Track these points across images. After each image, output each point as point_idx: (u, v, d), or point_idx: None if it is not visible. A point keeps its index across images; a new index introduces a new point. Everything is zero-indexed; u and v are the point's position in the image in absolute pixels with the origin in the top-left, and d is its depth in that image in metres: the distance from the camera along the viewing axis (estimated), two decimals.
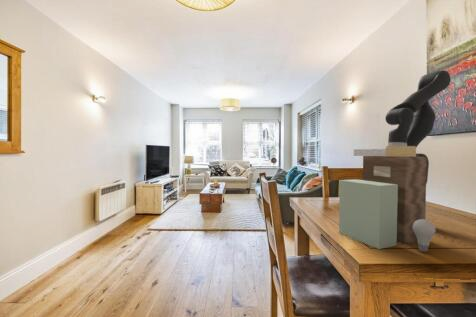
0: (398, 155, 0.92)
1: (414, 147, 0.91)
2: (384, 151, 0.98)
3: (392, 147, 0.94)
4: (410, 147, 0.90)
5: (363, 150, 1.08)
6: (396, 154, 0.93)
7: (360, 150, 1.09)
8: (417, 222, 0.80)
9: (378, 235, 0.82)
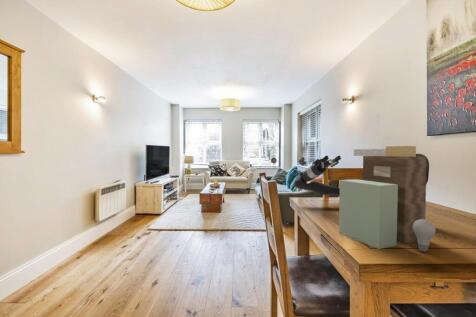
0: (398, 155, 0.92)
1: (414, 147, 0.91)
2: (384, 151, 0.98)
3: (392, 147, 0.94)
4: (410, 147, 0.90)
5: (363, 150, 1.08)
6: (396, 154, 0.93)
7: (360, 150, 1.09)
8: (417, 222, 0.80)
9: (378, 235, 0.82)
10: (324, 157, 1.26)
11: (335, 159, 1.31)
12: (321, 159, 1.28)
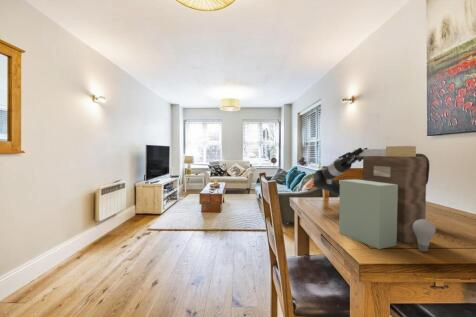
0: (398, 155, 0.92)
1: (414, 147, 0.91)
2: (384, 151, 0.98)
3: (392, 147, 0.94)
4: (410, 147, 0.90)
5: (363, 150, 1.08)
6: (396, 154, 0.93)
7: None
8: (417, 222, 0.80)
9: (378, 235, 0.82)
10: (357, 150, 1.09)
11: None
12: (353, 152, 1.11)
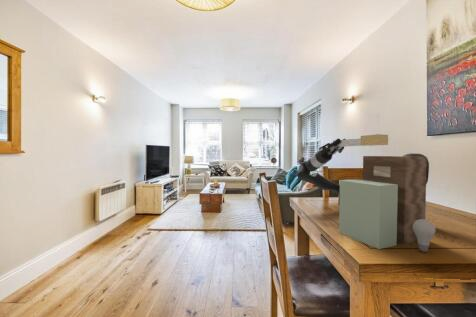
0: (371, 143, 0.95)
1: (386, 135, 0.94)
2: (359, 140, 1.01)
3: (366, 136, 0.97)
4: (382, 135, 0.93)
5: (341, 141, 1.11)
6: (369, 143, 0.95)
7: None
8: (417, 222, 0.80)
9: (378, 235, 0.82)
10: (336, 140, 1.12)
11: None
12: (332, 143, 1.14)
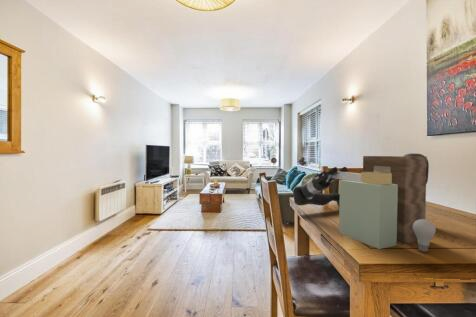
0: (373, 183, 0.86)
1: (390, 174, 0.85)
2: (360, 176, 0.92)
3: (367, 173, 0.88)
4: (385, 175, 0.84)
5: (340, 173, 1.02)
6: (371, 181, 0.87)
7: (337, 173, 1.03)
8: (417, 222, 0.80)
9: (378, 235, 0.82)
10: (332, 169, 1.03)
11: (340, 171, 1.07)
12: (328, 171, 1.05)
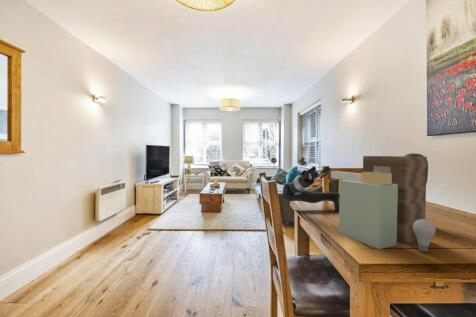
0: (373, 183, 0.86)
1: (390, 174, 0.85)
2: (360, 176, 0.92)
3: (367, 173, 0.88)
4: (385, 175, 0.84)
5: (340, 173, 1.02)
6: (371, 181, 0.87)
7: (337, 173, 1.03)
8: (417, 222, 0.80)
9: (378, 235, 0.82)
10: (311, 168, 1.13)
11: (324, 170, 1.18)
12: (308, 170, 1.15)
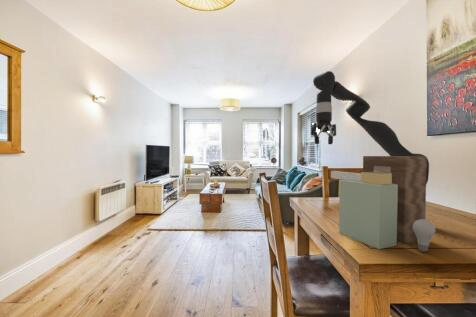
0: (373, 183, 0.86)
1: (390, 174, 0.85)
2: (360, 176, 0.92)
3: (367, 173, 0.88)
4: (385, 175, 0.84)
5: (340, 173, 1.02)
6: (371, 181, 0.87)
7: (337, 173, 1.03)
8: (417, 222, 0.80)
9: (378, 235, 0.82)
10: (315, 141, 1.19)
11: (330, 137, 1.22)
12: (316, 136, 1.18)
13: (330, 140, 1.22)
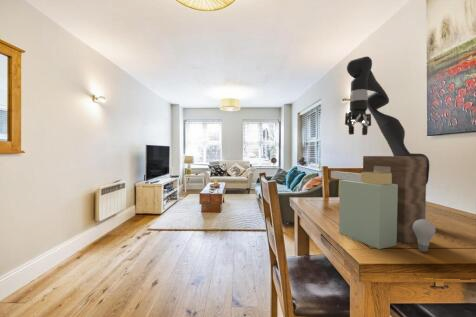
0: (373, 183, 0.86)
1: (390, 174, 0.85)
2: (360, 176, 0.92)
3: (367, 173, 0.88)
4: (385, 175, 0.84)
5: (340, 173, 1.02)
6: (371, 181, 0.87)
7: (337, 173, 1.03)
8: (417, 222, 0.80)
9: (378, 235, 0.82)
10: (350, 131, 1.11)
11: (364, 128, 1.15)
12: (350, 126, 1.11)
13: (365, 130, 1.15)
